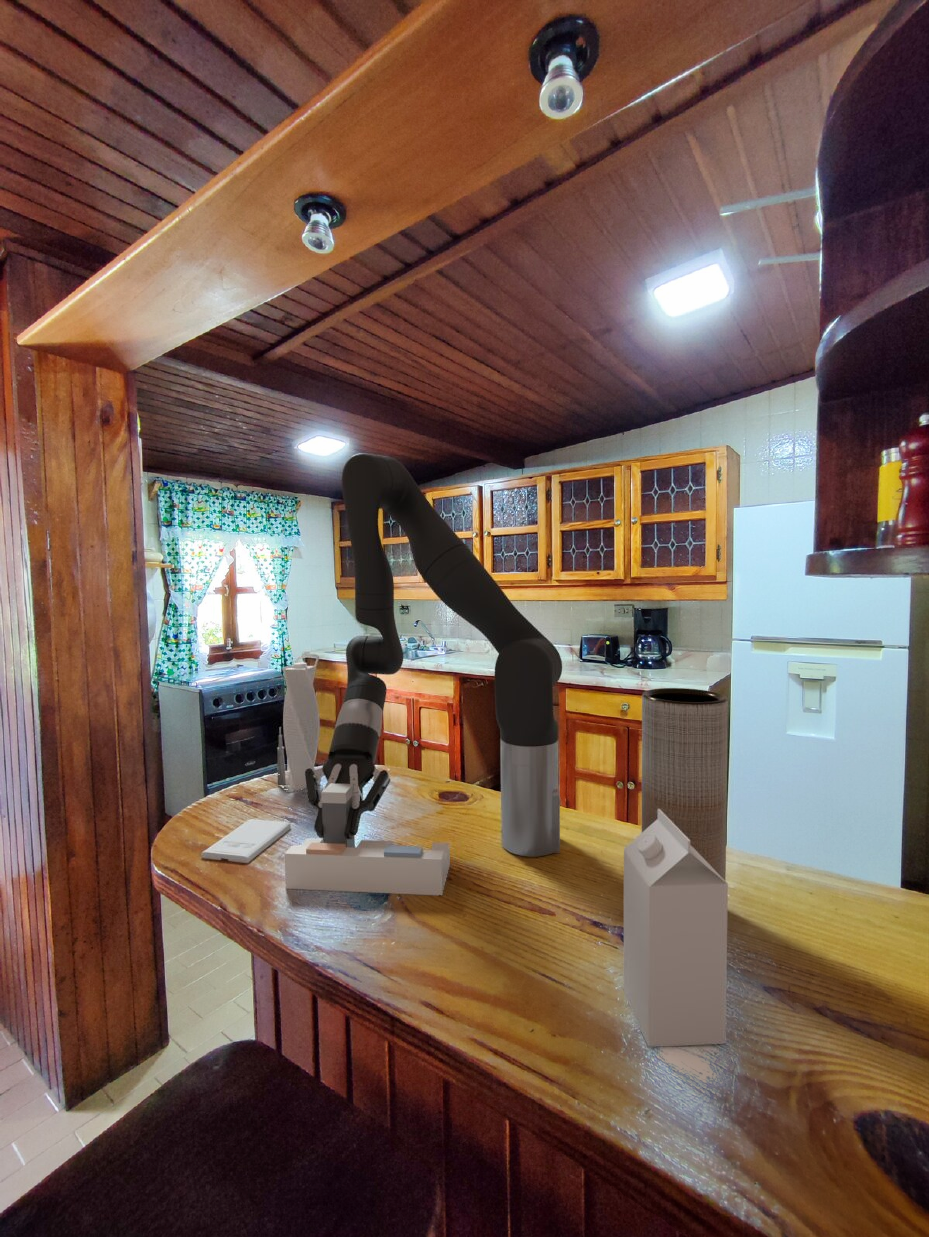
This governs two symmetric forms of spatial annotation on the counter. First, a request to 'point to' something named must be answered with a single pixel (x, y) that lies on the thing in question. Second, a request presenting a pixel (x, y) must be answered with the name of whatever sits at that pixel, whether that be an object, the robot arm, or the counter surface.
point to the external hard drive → (247, 841)
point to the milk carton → (674, 939)
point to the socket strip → (367, 867)
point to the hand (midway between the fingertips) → (334, 836)
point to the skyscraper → (299, 725)
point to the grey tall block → (336, 813)
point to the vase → (687, 766)
